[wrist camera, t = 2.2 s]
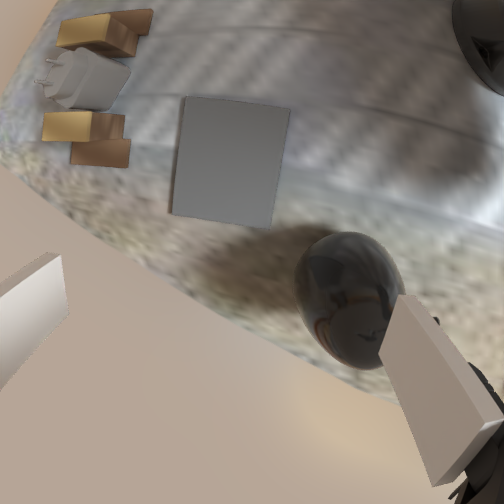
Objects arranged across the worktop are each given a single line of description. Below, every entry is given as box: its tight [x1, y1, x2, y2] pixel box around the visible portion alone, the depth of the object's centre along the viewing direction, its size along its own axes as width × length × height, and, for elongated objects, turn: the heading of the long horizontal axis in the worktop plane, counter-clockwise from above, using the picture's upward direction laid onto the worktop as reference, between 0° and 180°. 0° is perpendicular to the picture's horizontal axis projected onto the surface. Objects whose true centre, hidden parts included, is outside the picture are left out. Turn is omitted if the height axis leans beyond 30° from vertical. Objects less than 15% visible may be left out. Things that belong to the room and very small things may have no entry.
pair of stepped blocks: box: [42, 9, 153, 168], centre depth 25 cm, size 18×7×8 cm, turn 171°
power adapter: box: [34, 47, 131, 111], centre depth 23 cm, size 3×5×12 cm, turn 145°
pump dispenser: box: [293, 232, 440, 370], centre depth 27 cm, size 10×10×15 cm
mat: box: [172, 96, 290, 230], centre depth 30 cm, size 12×10×1 cm
